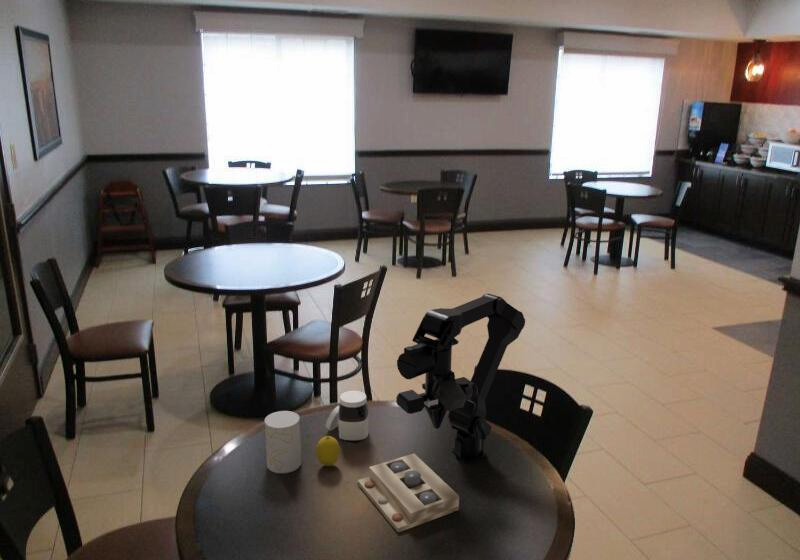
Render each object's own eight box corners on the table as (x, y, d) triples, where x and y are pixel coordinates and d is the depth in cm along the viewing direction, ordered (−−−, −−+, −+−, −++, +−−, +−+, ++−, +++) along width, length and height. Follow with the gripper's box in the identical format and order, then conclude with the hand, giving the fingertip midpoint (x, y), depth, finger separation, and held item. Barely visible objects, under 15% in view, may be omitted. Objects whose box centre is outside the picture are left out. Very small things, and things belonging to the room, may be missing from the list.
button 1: (401, 468, 145) (401, 460, 145) (408, 476, 142) (408, 468, 142) (387, 472, 143) (387, 464, 143) (395, 480, 140) (395, 472, 140)
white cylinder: (260, 468, 147) (257, 423, 144) (279, 451, 154) (276, 408, 151) (289, 476, 144) (287, 430, 141) (307, 458, 151) (305, 414, 148)
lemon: (336, 473, 145) (335, 443, 143) (313, 470, 146) (312, 440, 144) (342, 460, 150) (342, 431, 148) (321, 458, 151) (320, 429, 149)
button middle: (415, 477, 139) (415, 468, 139) (423, 485, 136) (423, 476, 136) (401, 481, 138) (401, 473, 137) (409, 490, 135) (409, 481, 134)
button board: (413, 466, 148) (414, 453, 148) (458, 510, 133) (459, 496, 132) (357, 483, 141) (357, 470, 140) (397, 532, 125) (398, 518, 125)
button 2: (430, 498, 134) (430, 489, 134) (439, 507, 131) (439, 498, 131) (416, 503, 133) (416, 494, 132) (425, 513, 130) (425, 504, 129)
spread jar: (367, 447, 156) (366, 406, 153) (322, 446, 157) (321, 405, 153) (369, 423, 168) (369, 384, 165) (328, 423, 168) (327, 384, 165)
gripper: (421, 388, 127) (420, 455, 131) (493, 370, 136) (490, 433, 140) (395, 368, 136) (394, 431, 141) (464, 353, 145) (462, 413, 149)
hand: (436, 427), depth 142 cm, fingers closed
